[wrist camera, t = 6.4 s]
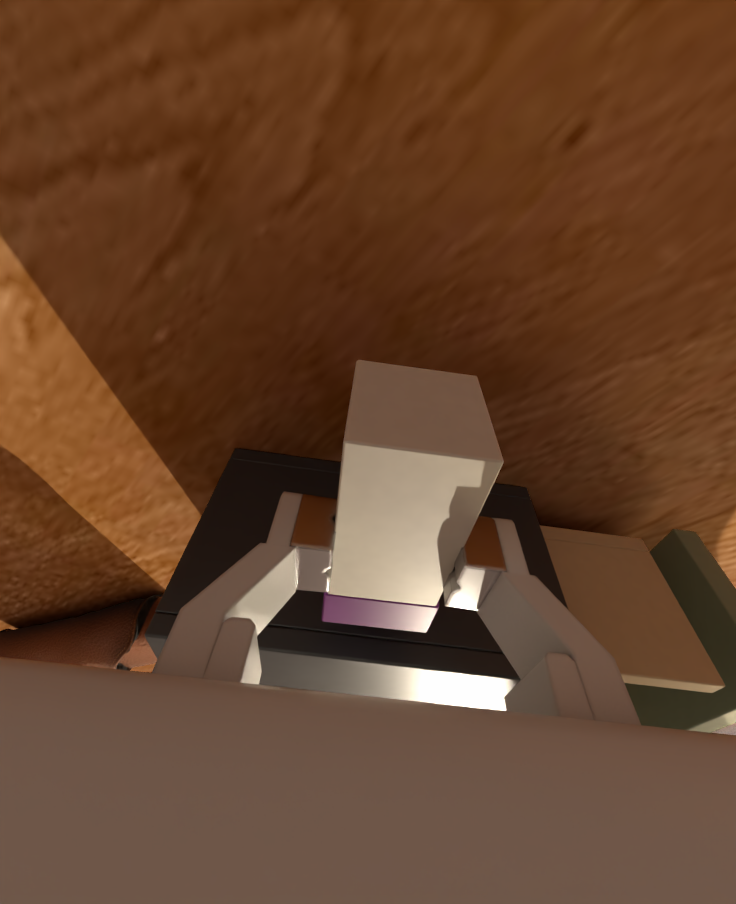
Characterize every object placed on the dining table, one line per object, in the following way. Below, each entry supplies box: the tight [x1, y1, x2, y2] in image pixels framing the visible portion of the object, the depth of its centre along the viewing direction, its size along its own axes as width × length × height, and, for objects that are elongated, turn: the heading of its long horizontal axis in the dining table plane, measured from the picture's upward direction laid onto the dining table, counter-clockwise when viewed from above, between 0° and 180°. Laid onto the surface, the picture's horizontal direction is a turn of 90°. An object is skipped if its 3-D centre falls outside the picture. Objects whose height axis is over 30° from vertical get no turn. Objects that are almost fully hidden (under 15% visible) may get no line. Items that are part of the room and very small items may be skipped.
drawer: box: [540, 525, 736, 733], centre depth 21 cm, size 18×12×7 cm, turn 83°
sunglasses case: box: [0, 594, 163, 671], centre depth 32 cm, size 18×7×7 cm
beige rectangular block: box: [321, 360, 504, 633], centre depth 11 cm, size 7×3×3 cm, turn 173°
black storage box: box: [144, 448, 568, 711], centre depth 20 cm, size 15×13×9 cm
